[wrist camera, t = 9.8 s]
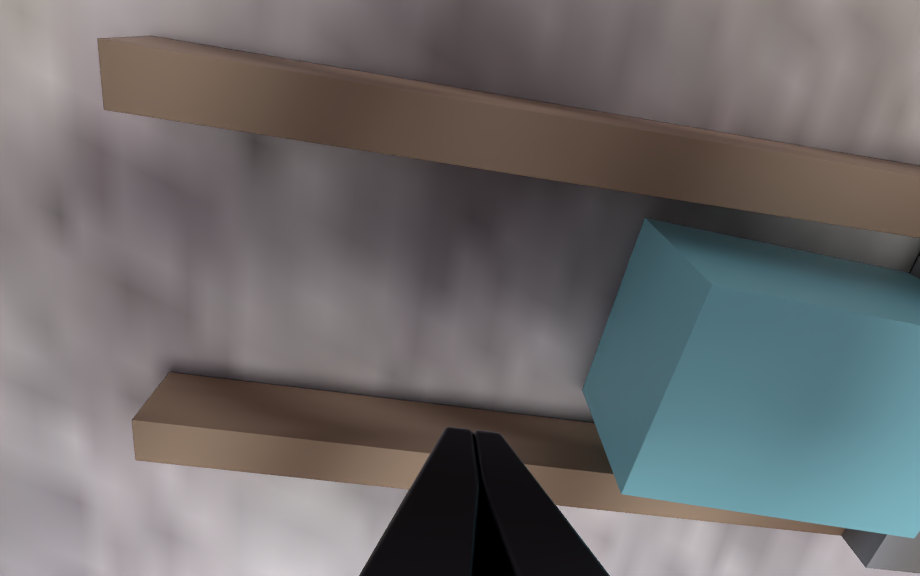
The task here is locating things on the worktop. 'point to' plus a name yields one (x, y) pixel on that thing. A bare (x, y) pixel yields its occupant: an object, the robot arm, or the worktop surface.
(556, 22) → the worktop surface
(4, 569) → the worktop surface
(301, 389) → the guide channel
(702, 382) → the block
